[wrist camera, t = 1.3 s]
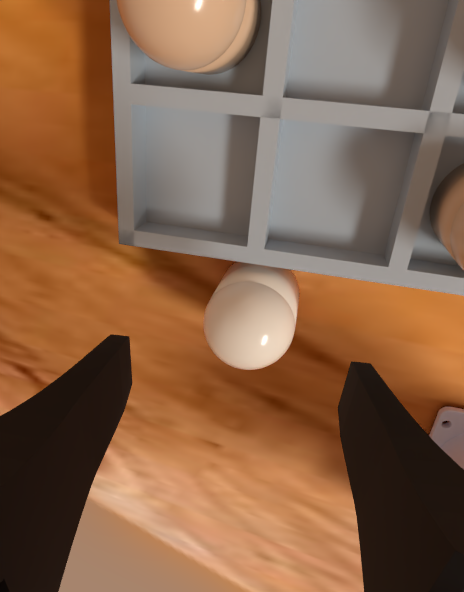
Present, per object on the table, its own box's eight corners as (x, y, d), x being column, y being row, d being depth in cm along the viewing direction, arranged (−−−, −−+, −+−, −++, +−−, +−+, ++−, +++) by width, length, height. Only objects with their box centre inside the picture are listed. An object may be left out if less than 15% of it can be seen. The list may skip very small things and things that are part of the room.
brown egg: (255, 78, 18) (227, 72, 13) (157, 70, 19) (94, 61, 14) (267, -50, 16) (240, -117, 11) (158, -55, 17) (84, -121, 12)
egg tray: (530, 285, 20) (556, 309, 18) (139, 229, 23) (119, 243, 21) (686, -75, 14) (754, -108, 12) (134, -92, 17) (104, -120, 15)
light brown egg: (293, 333, 24) (284, 397, 19) (218, 320, 25) (190, 378, 20) (305, 261, 22) (298, 311, 17) (224, 249, 23) (194, 294, 18)
